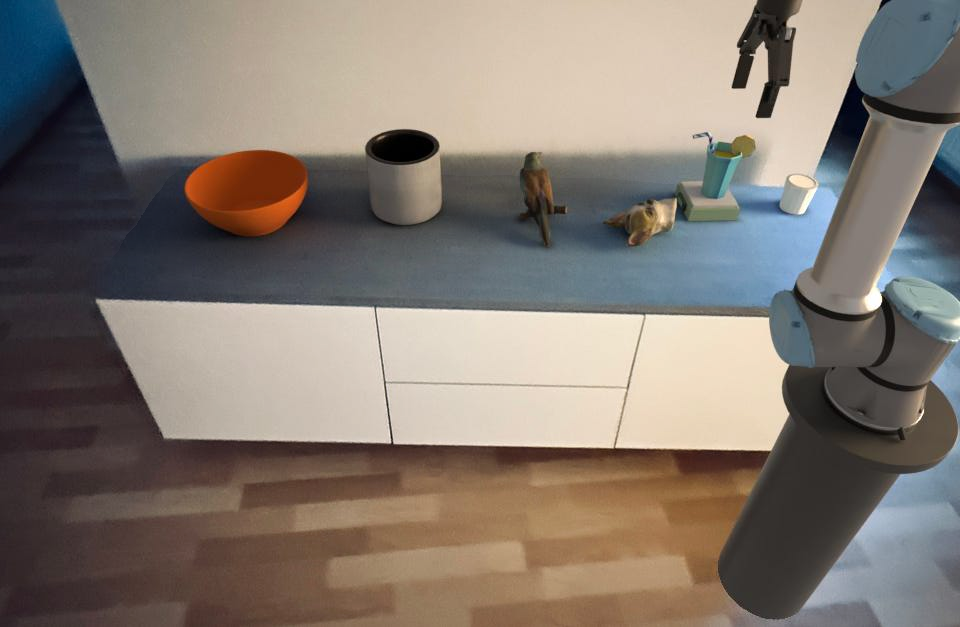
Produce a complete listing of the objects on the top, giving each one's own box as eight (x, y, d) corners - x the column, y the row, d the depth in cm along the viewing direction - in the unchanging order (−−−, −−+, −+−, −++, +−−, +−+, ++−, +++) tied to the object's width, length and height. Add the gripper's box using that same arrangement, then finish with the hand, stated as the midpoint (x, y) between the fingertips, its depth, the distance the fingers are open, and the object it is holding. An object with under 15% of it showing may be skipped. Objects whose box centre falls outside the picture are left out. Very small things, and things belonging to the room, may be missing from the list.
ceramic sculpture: (693, 204, 139) (631, 224, 135) (686, 238, 144) (626, 258, 140) (662, 179, 146) (602, 198, 142) (657, 213, 152) (599, 231, 148)
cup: (684, 203, 148) (700, 141, 138) (673, 185, 154) (687, 124, 144) (745, 200, 149) (765, 138, 139) (732, 182, 155) (750, 121, 145)
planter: (456, 209, 152) (456, 147, 142) (400, 237, 144) (394, 173, 134) (413, 181, 161) (409, 120, 150) (357, 206, 153) (349, 143, 142)
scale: (736, 220, 150) (741, 205, 148) (684, 221, 150) (688, 206, 147) (721, 193, 158) (725, 179, 156) (671, 194, 158) (675, 180, 155)
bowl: (336, 221, 148) (330, 181, 142) (230, 268, 136) (218, 227, 129) (278, 176, 162) (270, 138, 155) (177, 215, 149) (163, 175, 143)
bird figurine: (575, 245, 141) (571, 147, 137) (528, 248, 140) (523, 150, 137) (561, 240, 154) (557, 150, 150) (518, 243, 153) (513, 153, 150)
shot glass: (800, 199, 157) (810, 172, 152) (813, 215, 152) (824, 188, 147) (771, 199, 157) (781, 173, 152) (783, 216, 151) (793, 189, 147)
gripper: (738, -32, 129) (711, 77, 143) (790, 10, 110) (754, 131, 124) (776, -32, 129) (746, 76, 143) (835, 10, 111) (794, 130, 125)
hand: (750, 102), depth 134 cm, fingers open, 13 cm apart
